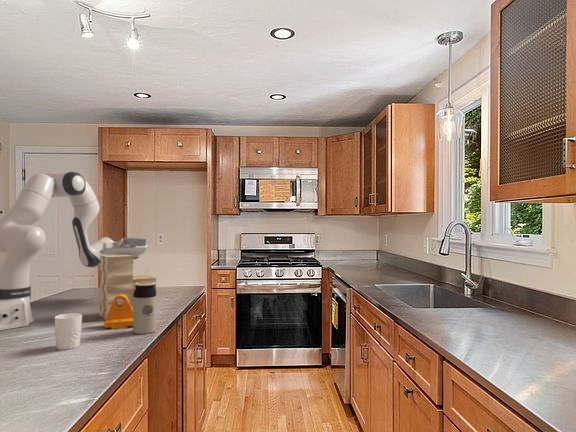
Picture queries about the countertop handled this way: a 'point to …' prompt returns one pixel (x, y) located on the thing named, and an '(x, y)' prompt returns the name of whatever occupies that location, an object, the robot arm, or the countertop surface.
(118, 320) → the bracket
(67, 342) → the white cup
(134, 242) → the block
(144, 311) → the travel mug
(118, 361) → the countertop surface
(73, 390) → the countertop surface
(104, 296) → the step stand
